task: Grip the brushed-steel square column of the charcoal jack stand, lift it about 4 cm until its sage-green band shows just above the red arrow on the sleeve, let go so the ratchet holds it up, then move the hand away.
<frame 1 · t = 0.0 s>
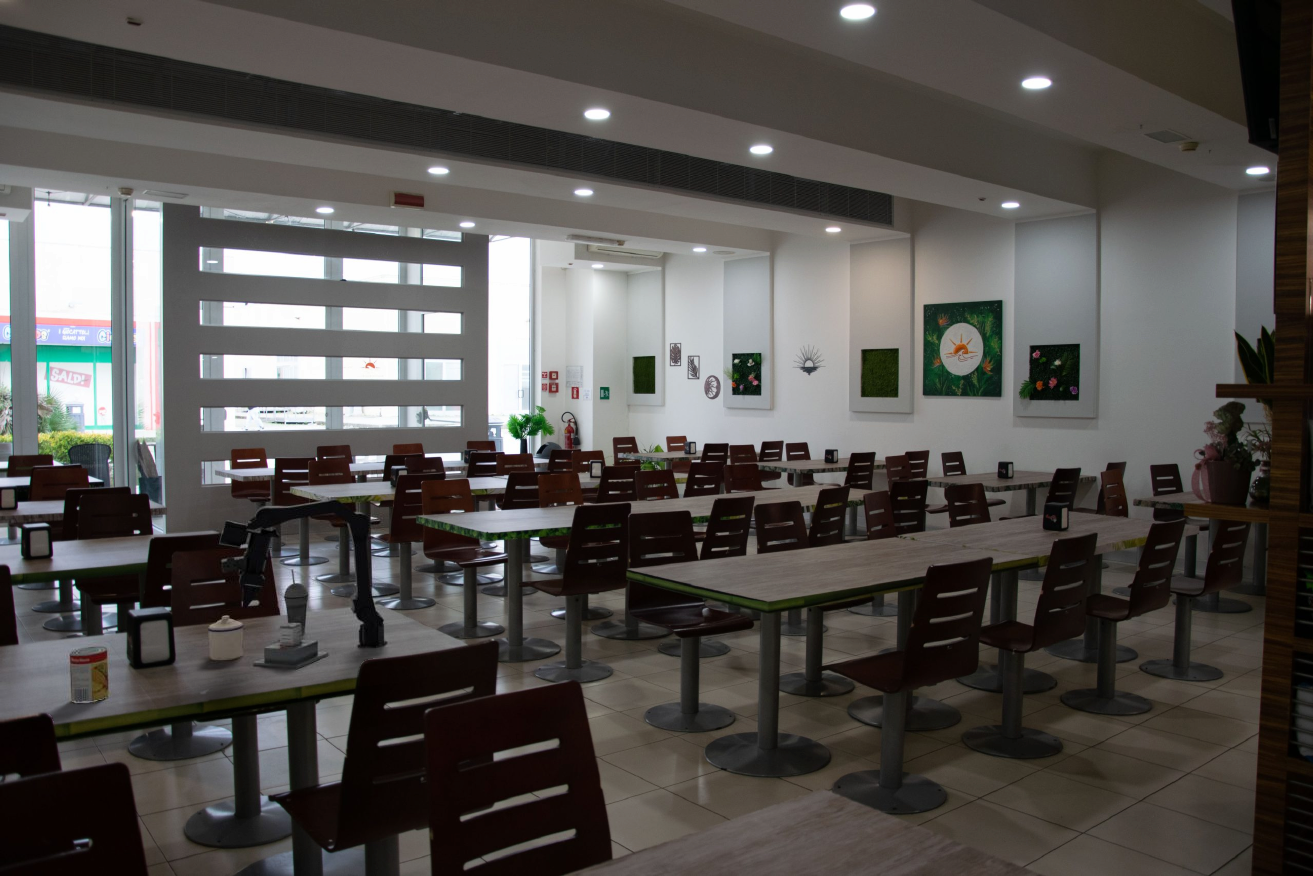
hand: (244, 604, 264), 15 cm above the table, tool pointing down, fingers open, 9 cm apart
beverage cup: (297, 633, 295), on the table
canned food: (90, 699, 230), on the table
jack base: (291, 660, 263), on the table
column: (291, 640, 263), point 5 cm above the table, slide at 0.0 cm
teacup with lid: (223, 656, 268), on the table
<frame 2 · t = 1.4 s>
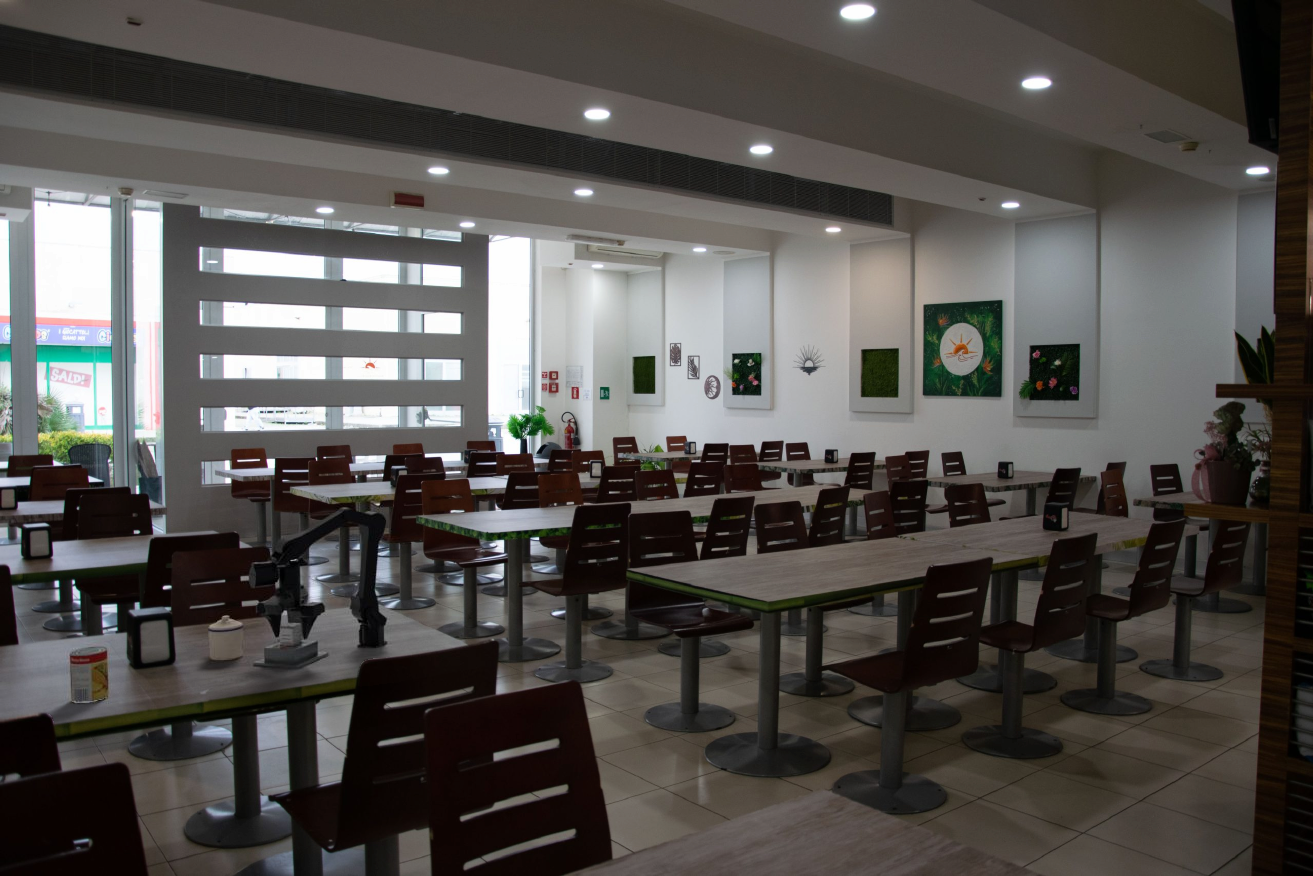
hand: (291, 638, 263), 6 cm above the table, tool pointing down, fingers open, 9 cm apart
nothing on the table moved.
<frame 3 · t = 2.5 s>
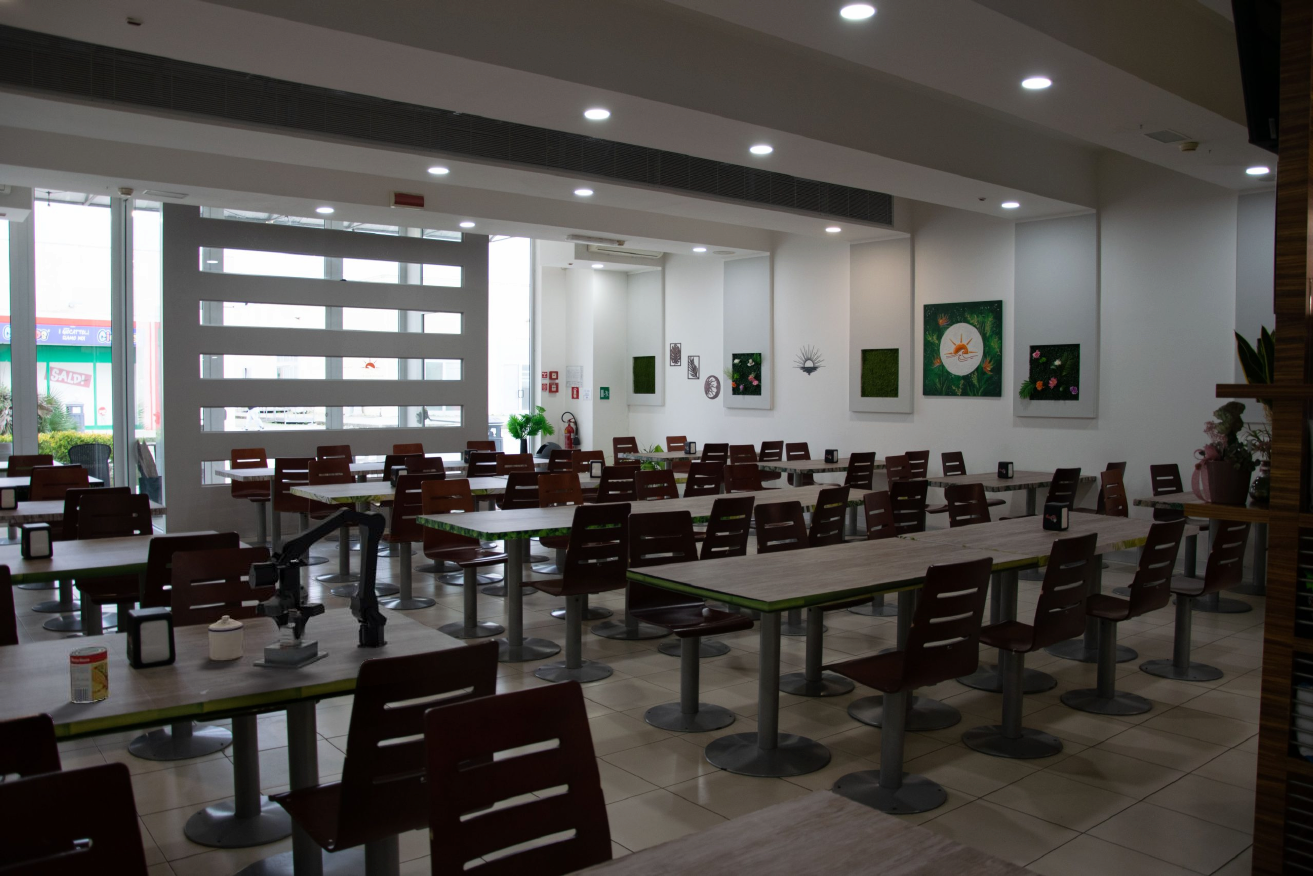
hand: (291, 639, 263), 6 cm above the table, tool pointing down, fingers closed on column, 4 cm apart
column: (291, 640, 263), point 5 cm above the table, slide at 0.0 cm, touching gripper
everything else where it was.
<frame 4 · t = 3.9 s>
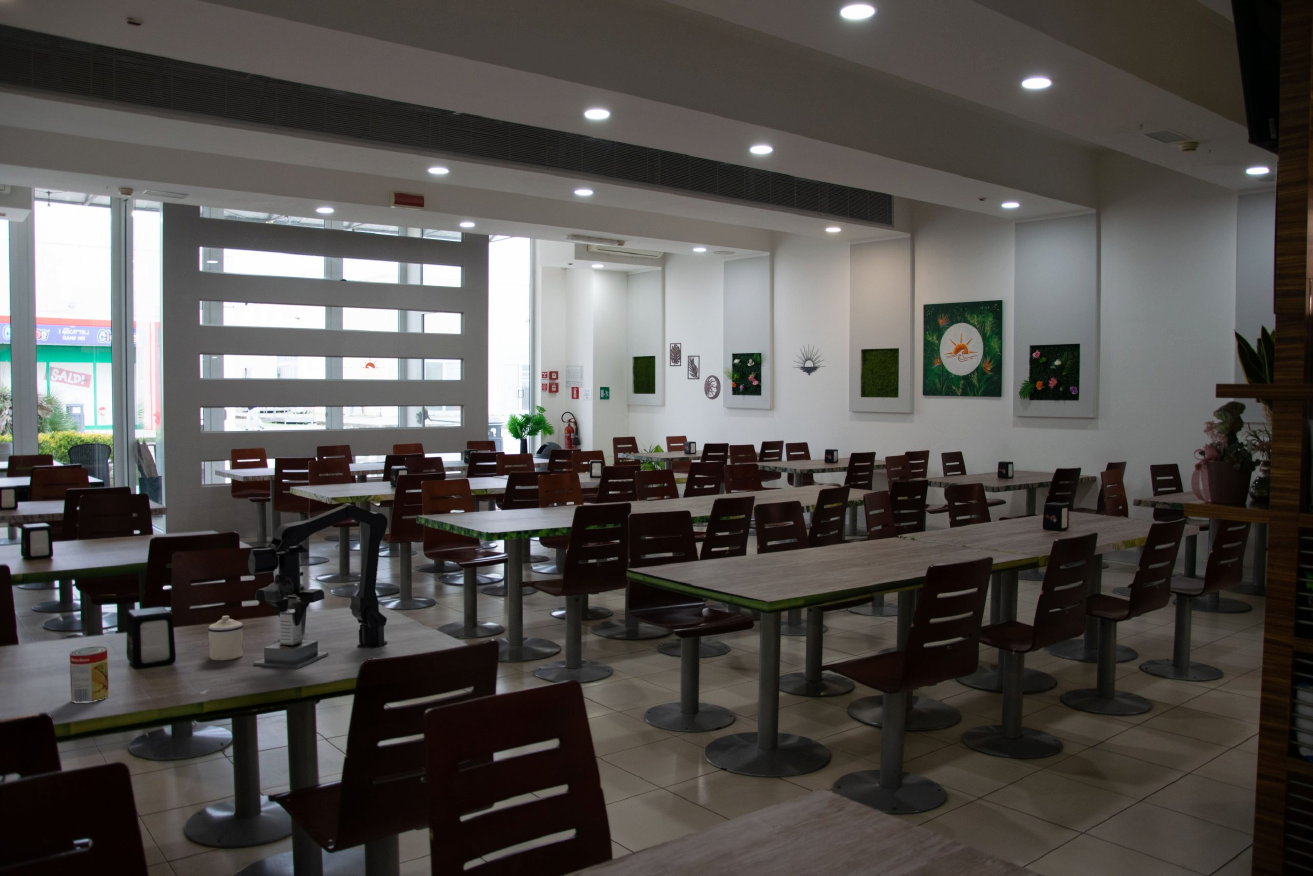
hand: (290, 625, 263), 10 cm above the table, tool pointing down, fingers closed on column, 4 cm apart
column: (290, 627, 263), point 9 cm above the table, slide at 3.9 cm, touching gripper
everything else where it was.
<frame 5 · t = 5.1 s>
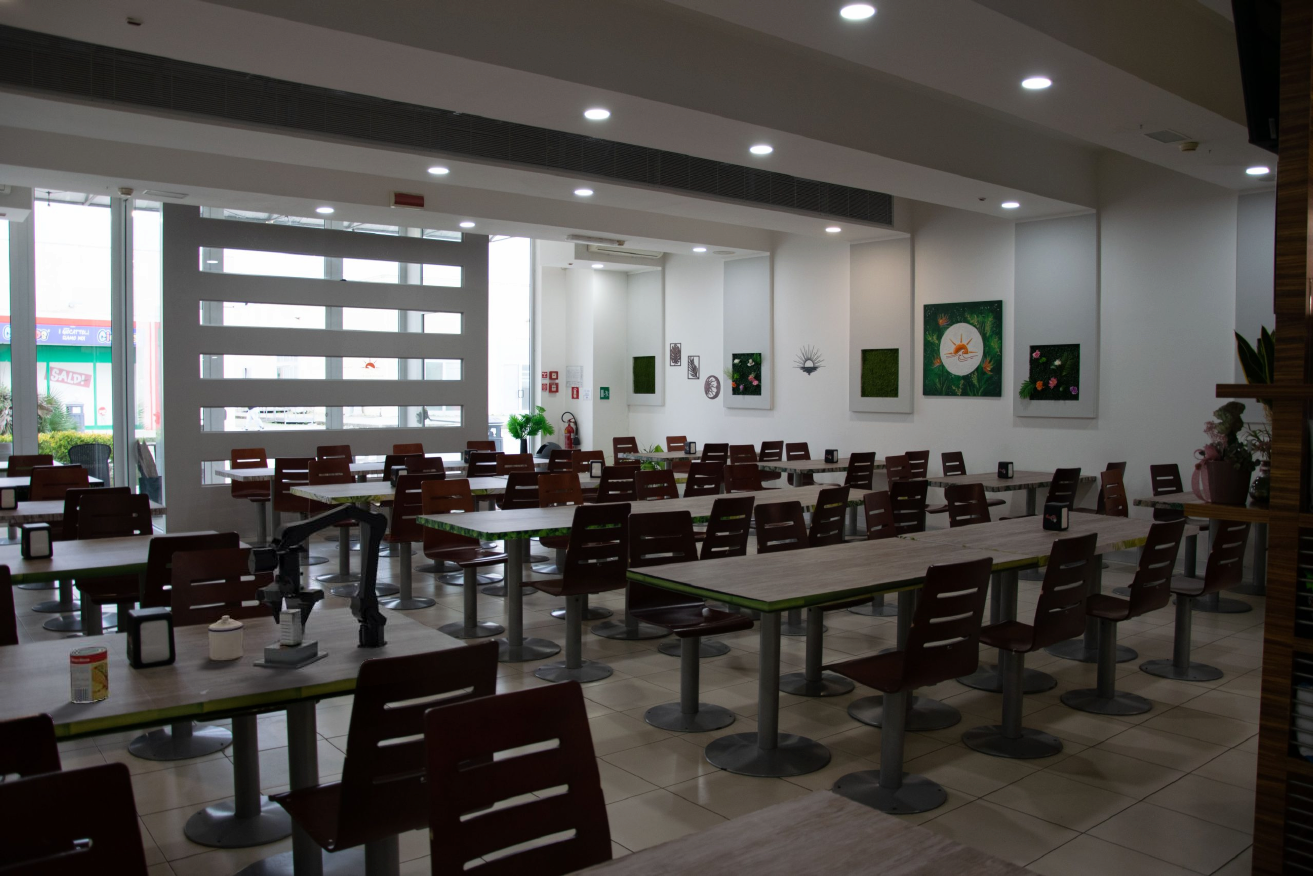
hand: (290, 624, 263), 10 cm above the table, tool pointing down, fingers open, 8 cm apart
column: (290, 626, 263), point 9 cm above the table, slide at 3.9 cm
everything else where it was.
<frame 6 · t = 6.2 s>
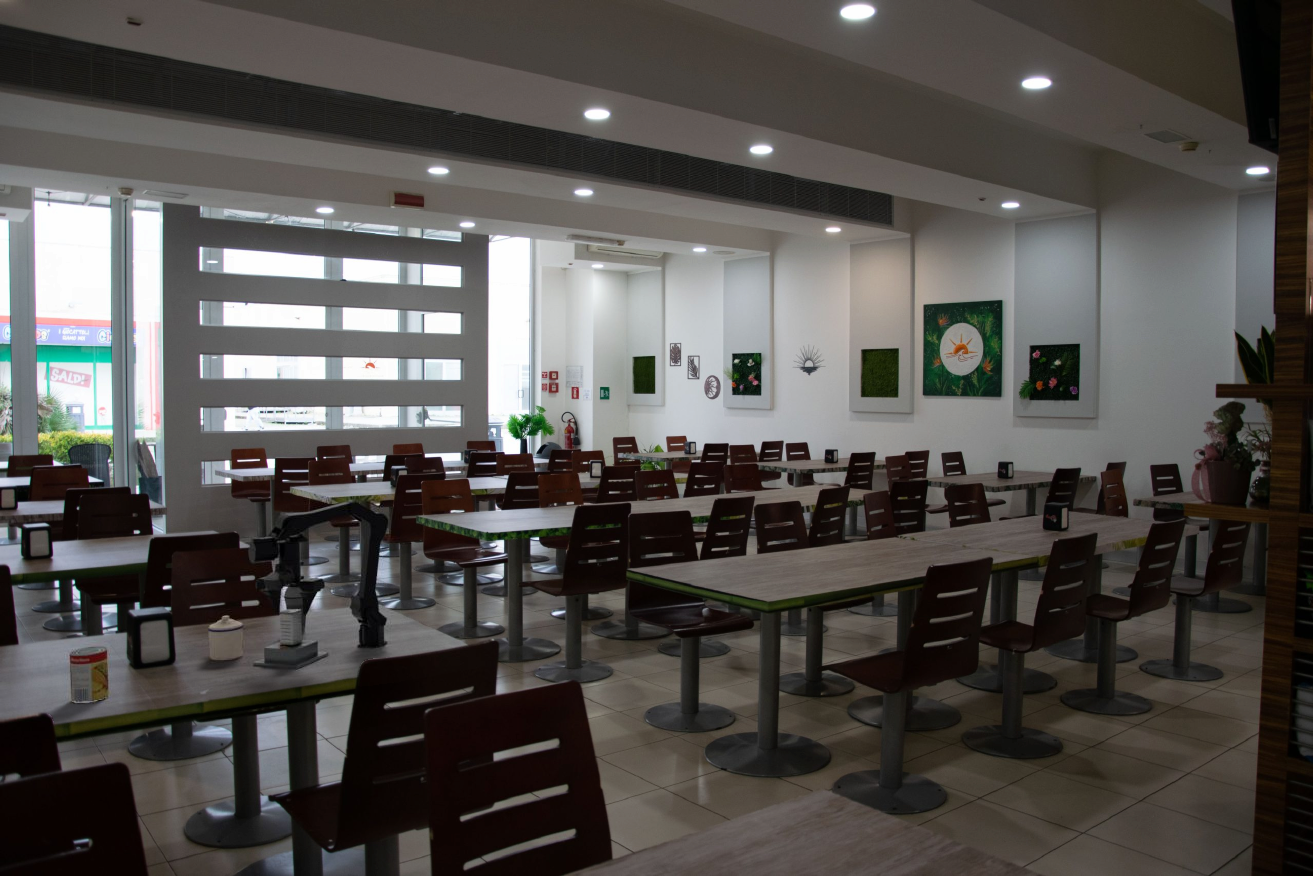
hand: (290, 614, 263), 13 cm above the table, tool pointing down, fingers open, 9 cm apart
nothing on the table moved.
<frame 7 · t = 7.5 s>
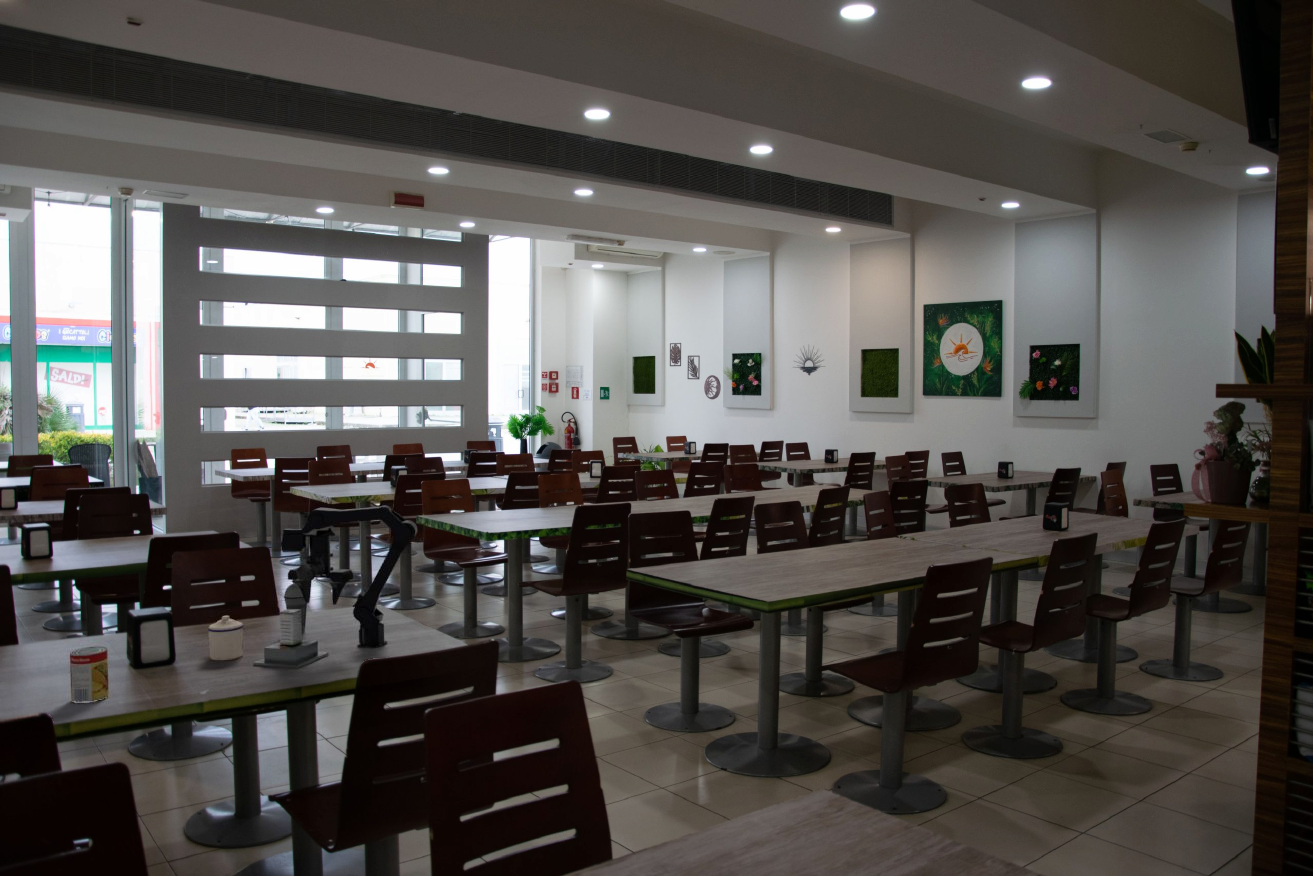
hand: (321, 603, 276), 13 cm above the table, tool pointing down, fingers open, 9 cm apart
nothing on the table moved.
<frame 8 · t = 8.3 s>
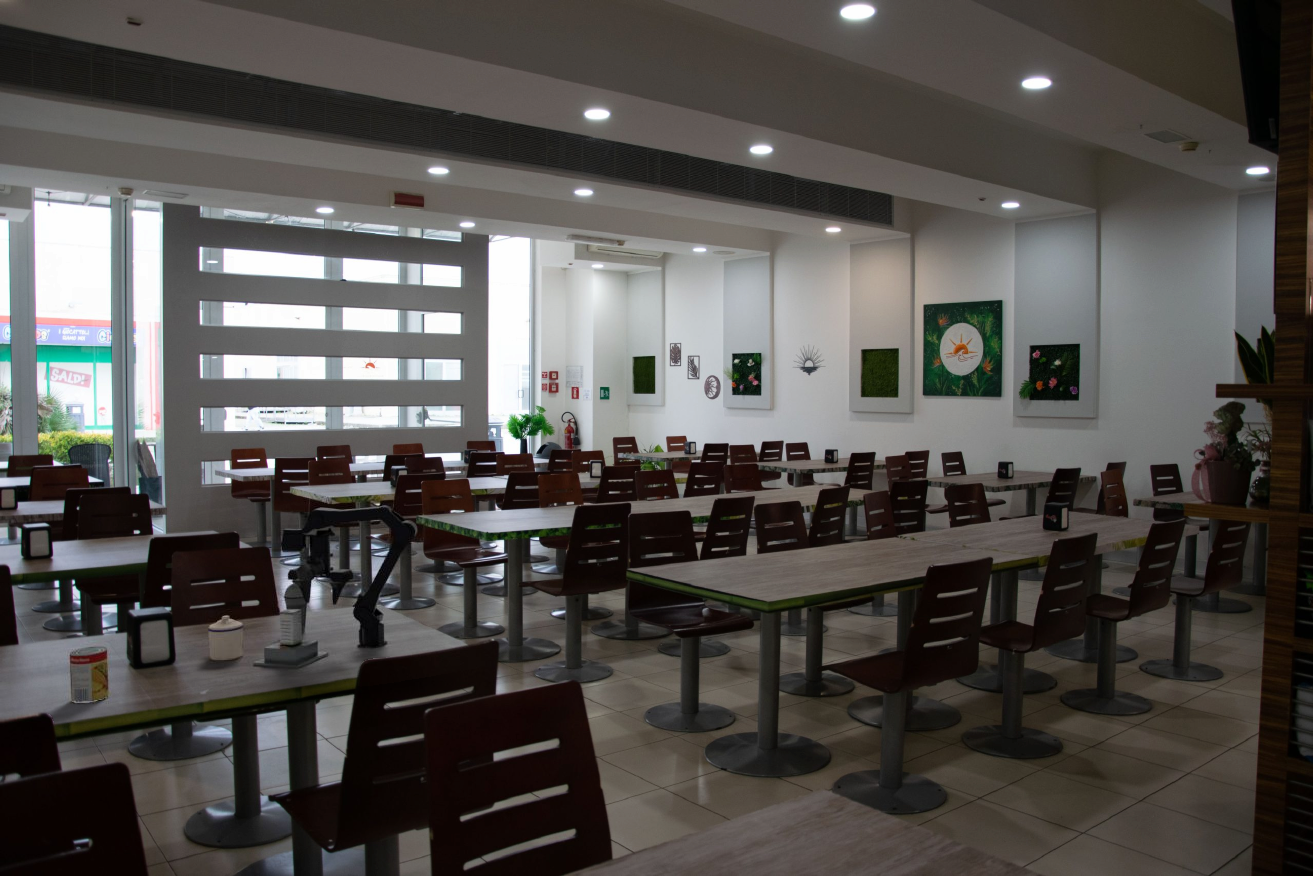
hand: (321, 603, 276), 13 cm above the table, tool pointing down, fingers open, 9 cm apart
nothing on the table moved.
at the end: column slide at 3.9 cm; the gripper is holding nothing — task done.
